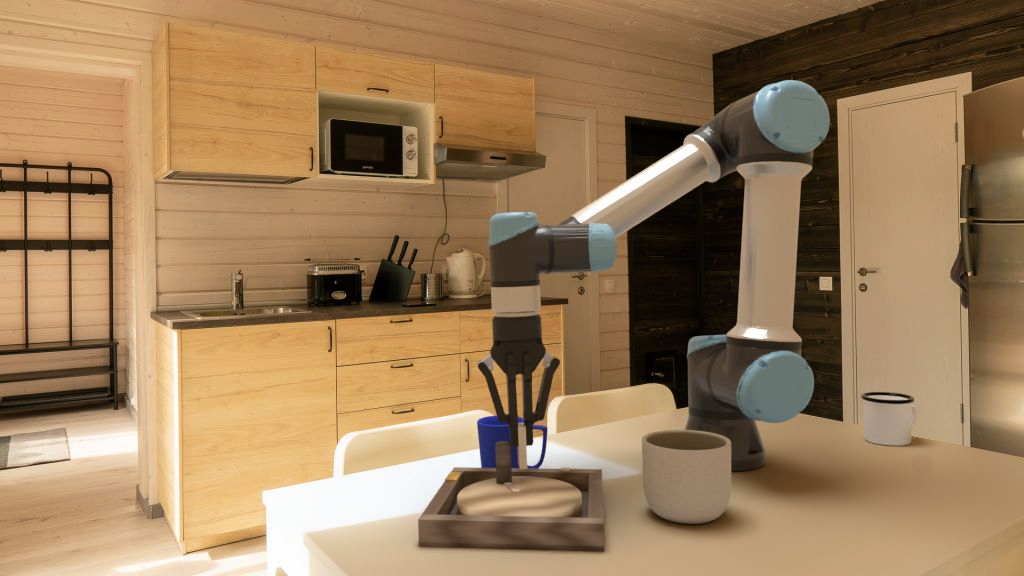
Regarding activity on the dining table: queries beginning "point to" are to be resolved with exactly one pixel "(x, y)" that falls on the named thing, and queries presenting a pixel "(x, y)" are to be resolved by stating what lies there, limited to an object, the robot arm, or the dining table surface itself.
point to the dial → (518, 493)
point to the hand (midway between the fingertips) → (522, 466)
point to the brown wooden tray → (514, 531)
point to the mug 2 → (888, 418)
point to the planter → (687, 474)
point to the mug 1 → (499, 432)
